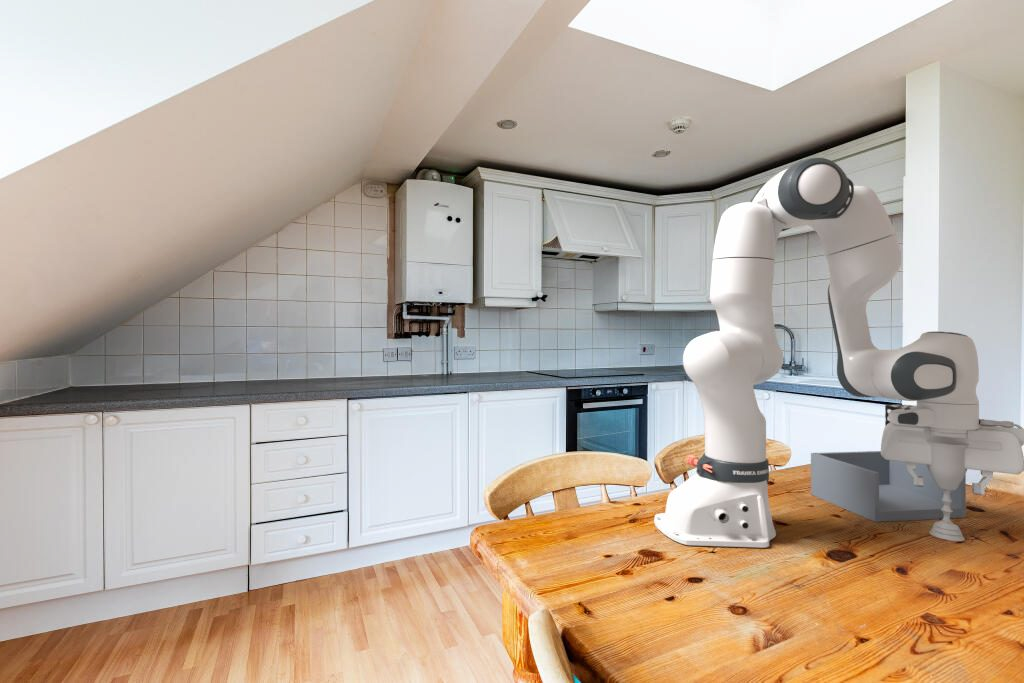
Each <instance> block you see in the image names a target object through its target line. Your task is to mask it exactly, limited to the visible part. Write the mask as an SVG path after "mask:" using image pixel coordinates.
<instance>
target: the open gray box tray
mask: <svg viewBox="0 0 1024 683" xmlns="http://www.w3.org/2000/svg"><path fill="white" fill-rule="evenodd" d="M912 469H913V470H914V471H915V473H916V474H917V476H923V487H919V486H914V485H913V477H912V475H911V474H910V472H909V471H908V469H907V468H906V462H901V461H892V460H886V459H884V458H883V457H882V455H881V450H873V451H872V450H871V451H869V450H868V451H838V452H837V451H836V452H835V451H833V452H811V453H810V494H811V495H812V496H814V497H816V498H818V499H821V500H823V501H825V502H828V503H830V504H832V505H835V506H837V507H840V508H842V509H844V510H846V511H848V512H851V513H853V514H856V515H858V516H861V517H863V518H865V519H868V520H870V521H872V522H875V523H879V522H895V521H896V522H897V521H900V522H901V521H919V520H920V521H921V520H940V519H941V520H942V519H943V517H944V515H943V511H942V510H941V508H943V506H944V504H943V501H942V500H941V499H942V498H943V495H944V493H943V489H941V488H939V487H937V485H936V483H935V482H934V480H933V478H932V476H931V474H930V472H929V469H928V467H927V464H919V463H916V464H915V469H914V468H912ZM966 474H967V473H966ZM966 474H965V476H964V478H963V480H962V481H961V483H960V484H959V486H958V487H957V489H956V490H952V491H950V499H951V500H952V502H951V503H950V509H951V510H952V511H953V512H951V513H950V519H959V518H960V519H962V518H964V519H965V518H966V516H967V515H966V514H967V513H966V510H967V508H966V507H967V506H966V504H967V502H966V500H967V498H966V494H967V493H966V491H967V490H966V480H967V478H966V476H967V475H966Z"/></svg>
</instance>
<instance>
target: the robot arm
mask: <svg viewBox="0 0 1024 683" xmlns="http://www.w3.org/2000/svg"><path fill="white" fill-rule="evenodd" d="M806 225H807V226H809V227H810V228H812V229H813V230H814V231H815V233H817V235H818V237H819V238H820V241H821V243H822V246H823V251H824V253H825V257H826V261H827V266H828V270H829V284H828V287H827V300H828V307H829V314H830V315H829V316H830V319H831V325H832V330H833V334H834V339H835V345H836V351H837V354H836V355H837V359H836V363H837V364H836V373H837V374H836V375H837V379H838V382H839V384H840V385H841V387H842V388H843V389H844V390H845V391H846V392H847V393H849V394H850V395H852V396H854V397H858V398H881V399H888V400H895V401H896V400H898V401H905V402H916V405H913V407H907V408H902V409H896V410H892V411H890V412H889V414H888V418H889V421H890V423H888V424H887V425H886V426H885V425H884V429H883V432H882V436H881V444H880V451H881V455H882V457H883V458H884V459H886V460H892V461H901V462H906V468H907V469H908V471H909V472H910V474H911V475H912V477H913V485H914V486H919V487H923V476H917V474H916V473H915V471H914V470H913V469H912V468H914V469H915V464H916V463H919V464H928V465H931V462H932V456H931V446H930V445H929V444H928V442H927V441H930V442H934V443H941V444H950V445H969V446H968V447H967V448H966V449H965V456H964V466H965V469H967V470H973V471H980V474H981V476H982V477H981V479H980V480H979V482H971V484H972V485H971V486H972V488H971V489H972V490H971V491H972V494H973V495H981V496H985V494H986V492H985V491H986V489H985V488H986V486H987V485H989V483H990V482H991V481H992V480H993V479H994V473H999V474H1000V473H1001V474H1009V475H1017V476H1018V475H1021V474H1022V473H1023V472H1024V452H1023V448H1022V447H1023V445H1024V428H1023V427H1022V426H1021V425H1019V424H1016V423H1014V422H1013V421H1009V420H993V419H984V418H980V401H979V398H978V394H977V386H978V383H979V380H980V376H979V374H980V372H979V357H978V352H977V348H976V345H975V342H974V340H973V339H972V338H971V337H970V336H968V335H967V334H963V333H960V332H951V331H927V332H923V333H921V334H920V337H919V338H917V340H915V341H913V342H911V343H910V344H907V345H905V346H902V347H899V348H898V349H879V348H878V347H877V346H875V345H874V343H873V342H872V338H871V331H870V327H869V321H868V316H867V305H868V301H869V300H870V298H871V297H872V296H873V295H874V294H875V293H877V292H878V291H879V290H880V289H882V288H883V287H885V286H886V285H888V284H889V283H890V282H891V281H892V280H893V279H894V278H895V276H896V275H897V273H898V272H899V270H900V268H901V265H902V251H901V247H900V243H899V240H898V238H897V235H896V234H895V233H896V232H895V228H894V226H893V224H892V221H891V219H890V217H889V215H888V212H887V211H886V209H885V206H884V204H883V203H882V201H881V199H880V198H879V197H878V195H877V193H876V192H875V191H874V190H873V189H872V188H871V187H868V186H866V185H854V182H853V181H852V180H851V179H850V178H849V177H848V176H847V175H846V173H845V172H844V170H843V169H842V168H841V167H840V166H839V165H838V164H837V162H834V161H833V160H831V159H829V158H825V157H812V158H807V159H804V160H800V161H798V162H796V163H793V164H792V165H791V166H789V167H787V168H786V169H783V170H781V171H780V172H778V173H776V174H774V176H772V177H771V178H769V180H768V181H767V182H765V183H764V184H762V185H761V186H760V187H759V188H758V190H756V192H754V195H753V197H752V198H751V200H750V201H746V202H745V201H743V202H741V203H737V204H734V205H731V206H730V207H728V208H727V209H726V210H725V211H724V212H723V213H722V215H721V217H720V220H719V223H718V227H717V232H716V234H715V240H714V245H713V252H712V261H711V262H712V263H711V274H710V285H709V286H710V289H709V290H710V291H709V300H710V303H711V305H712V306H713V308H714V310H715V312H716V316H717V320H718V327H719V330H715V331H710V332H708V333H704V334H701V335H699V336H697V337H695V338H693V339H692V340H691V341H689V342H688V344H687V345H686V347H685V349H684V351H683V354H682V365H683V370H684V371H685V374H686V375H687V377H688V379H689V378H690V380H691V381H692V383H693V384H694V385H695V388H696V390H697V393H698V396H699V400H700V404H701V408H702V412H703V413H702V414H703V422H704V423H703V424H704V453H703V454H702V456H701V457H700V458H698V457H697V456H695V455H693V454H689V455H688V456H687V457H686V459H685V460H686V463H687V464H688V465H690V466H691V467H694V468H695V467H696V472H695V473H694V474H692V476H689V478H687V479H685V481H684V482H682V483H681V484H679V485H678V486H677V487H675V488H674V489H672V490H671V491H670V492H669V493H668V496H667V500H666V504H665V510H664V511H665V512H660V513H656V514H654V519H653V524H654V525H655V527H656V529H658V530H659V531H660V533H662V534H663V535H664V536H666V537H668V538H669V539H671V540H673V542H674V541H675V542H677V543H679V544H682V545H685V546H703V547H707V546H708V547H709V546H710V547H730V548H731V547H733V548H735V547H737V548H761V549H762V548H763V549H764V548H766V549H767V548H769V547H770V542H771V540H773V539H774V538H776V536H777V532H776V529H775V526H774V523H773V519H772V514H771V513H772V512H771V509H770V501H769V493H768V483H769V479H770V465H769V464H770V463H769V459H768V458H767V421H766V420H767V419H766V417H765V415H764V413H762V412H761V410H760V406H759V404H758V400H757V398H756V395H755V389H754V385H761V384H763V383H765V382H767V381H768V380H770V379H772V378H773V377H775V376H777V374H779V372H780V371H781V368H782V367H783V364H784V354H783V350H782V348H781V346H780V345H779V342H778V339H777V333H776V326H775V320H774V312H773V286H774V276H775V275H774V274H775V264H776V263H775V262H776V261H775V260H776V244H777V242H778V239H779V236H780V234H781V232H784V231H787V230H789V229H792V228H798V227H802V226H806Z"/></svg>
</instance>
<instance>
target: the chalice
mask: <svg viewBox="0 0 1024 683" xmlns="http://www.w3.org/2000/svg"><path fill="white" fill-rule="evenodd" d="M927 442H928V444H929V445H930V446H931V456H932V462H931V465H928V464H927V467H928V469H929V472H930V474H931V476H932V478H933V480H934V482H935V483H936V485H937V487H939V488H941V489H943V493H944V495H943V498H942V499H941V500H942V501H943V504H944V506H943V508H941V510H942V511H943V515H944V517H943V519H941V520H936V521H935V522H934V523H933V526H932V527H931V529H930V530H929V535H932V537H936V538H939V539H941V540H946V541H952V542H964V541H965V539H966V538H965V537H964V535H963V533H962V531H961V529H960V527H959V526H958V524H955V523H953V521H952V519H951V518H950V513H951V512H953V511H952V510H951V509H950V503H951V502H952V500H951V499H950V491H952V490H956V489H957V487H958V486H959V484H960V483H961V481H962V480H963V478H964V476H965V474H967V471H968V469H965V466H964V456H965V449H966V448H967V447H968V446H969V445H950V444H941V443H934V442H930V441H927Z"/></svg>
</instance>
